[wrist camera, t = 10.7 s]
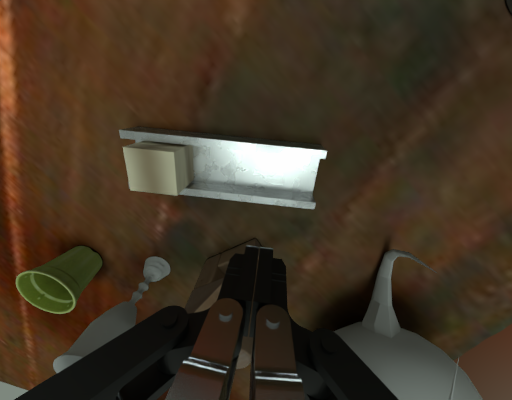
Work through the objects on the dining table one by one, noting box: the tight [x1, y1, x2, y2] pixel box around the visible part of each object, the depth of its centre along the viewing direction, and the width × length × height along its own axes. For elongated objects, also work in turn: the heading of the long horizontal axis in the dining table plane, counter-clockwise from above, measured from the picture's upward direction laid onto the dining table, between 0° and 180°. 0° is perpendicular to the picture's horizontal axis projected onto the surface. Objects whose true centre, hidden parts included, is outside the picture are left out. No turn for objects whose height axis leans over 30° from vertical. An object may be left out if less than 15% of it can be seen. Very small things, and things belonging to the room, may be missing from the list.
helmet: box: [333, 249, 483, 400], centre depth 29 cm, size 24×29×35 cm
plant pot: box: [16, 246, 102, 314], centre depth 38 cm, size 9×9×9 cm
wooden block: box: [185, 239, 261, 369], centre depth 31 cm, size 4×11×18 cm, turn 120°
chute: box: [119, 126, 327, 209], centre depth 30 cm, size 26×8×4 cm, turn 85°
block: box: [123, 141, 194, 195], centre depth 29 cm, size 6×5×6 cm
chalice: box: [53, 257, 170, 373], centre depth 34 cm, size 7×7×18 cm
